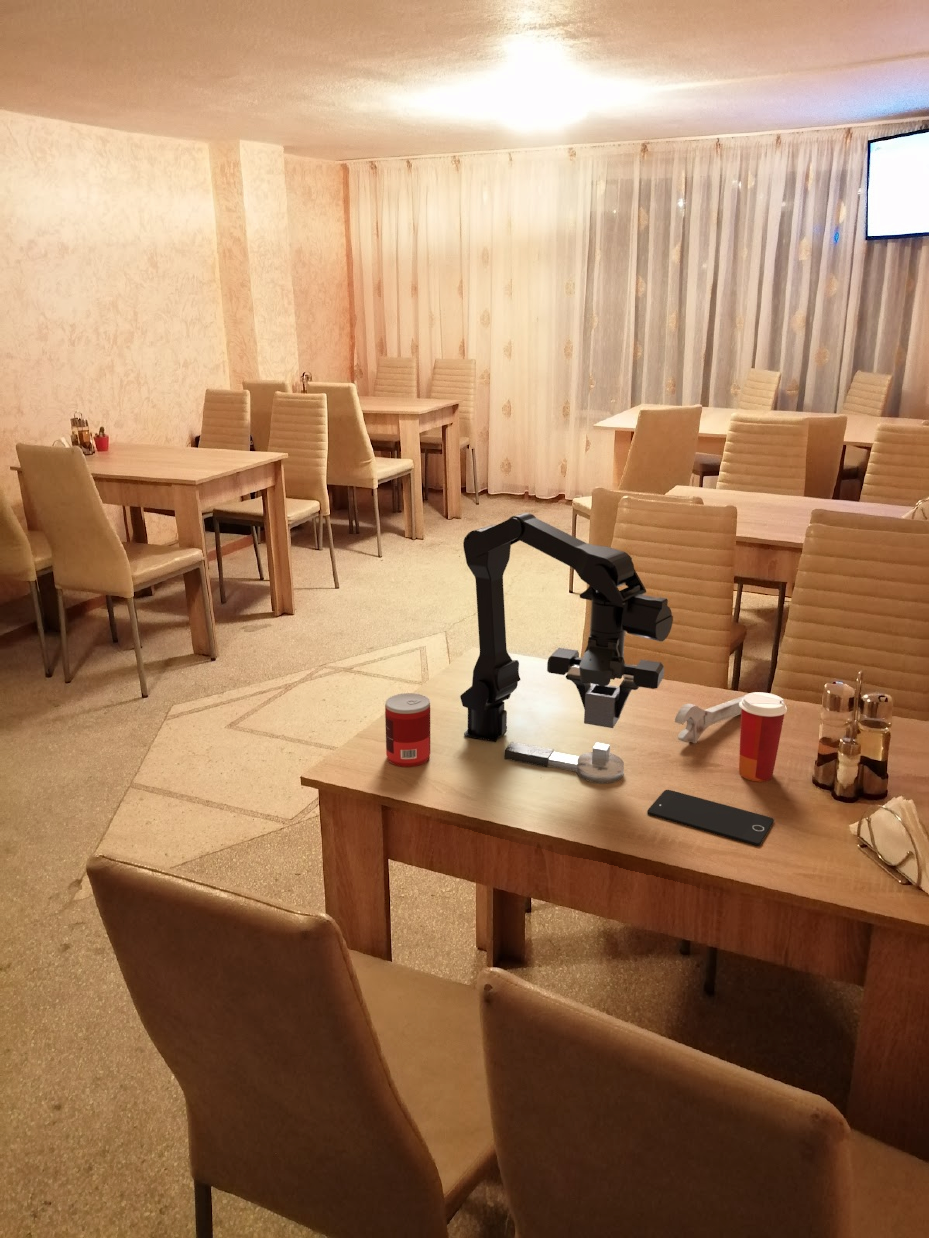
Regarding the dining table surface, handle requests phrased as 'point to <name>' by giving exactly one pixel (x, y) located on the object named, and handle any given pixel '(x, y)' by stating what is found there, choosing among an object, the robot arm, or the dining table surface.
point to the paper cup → (760, 734)
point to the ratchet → (572, 761)
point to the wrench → (704, 718)
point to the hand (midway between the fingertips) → (602, 714)
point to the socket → (601, 705)
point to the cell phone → (711, 817)
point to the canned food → (407, 729)
